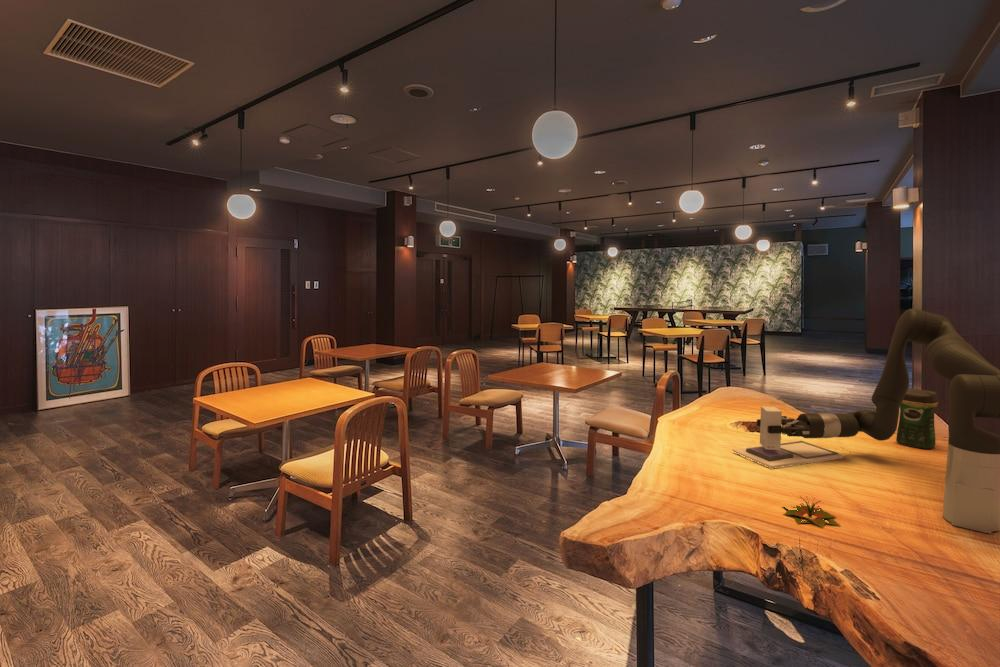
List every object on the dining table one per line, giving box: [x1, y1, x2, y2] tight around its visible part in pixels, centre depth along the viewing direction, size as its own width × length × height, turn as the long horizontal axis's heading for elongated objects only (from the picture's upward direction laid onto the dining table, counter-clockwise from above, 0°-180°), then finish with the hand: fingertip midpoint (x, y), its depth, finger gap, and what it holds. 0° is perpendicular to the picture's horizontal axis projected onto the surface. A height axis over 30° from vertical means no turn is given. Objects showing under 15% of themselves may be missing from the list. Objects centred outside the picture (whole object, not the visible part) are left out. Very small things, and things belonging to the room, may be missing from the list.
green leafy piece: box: [784, 495, 842, 529], centre depth 112 cm, size 12×12×5 cm
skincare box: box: [759, 405, 783, 450], centre depth 150 cm, size 6×4×12 cm
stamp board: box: [731, 440, 844, 468], centre depth 152 cm, size 28×15×2 cm, turn 107°
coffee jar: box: [895, 387, 939, 449], centre depth 160 cm, size 10×8×19 cm
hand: (762, 426), depth 150 cm, fingers closed on skincare box, 6 cm apart
